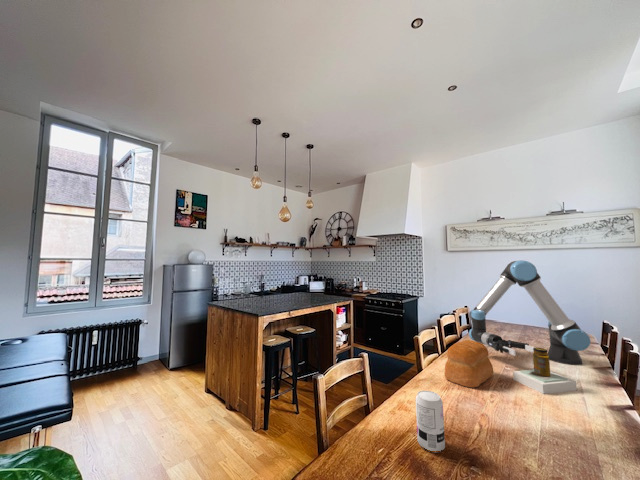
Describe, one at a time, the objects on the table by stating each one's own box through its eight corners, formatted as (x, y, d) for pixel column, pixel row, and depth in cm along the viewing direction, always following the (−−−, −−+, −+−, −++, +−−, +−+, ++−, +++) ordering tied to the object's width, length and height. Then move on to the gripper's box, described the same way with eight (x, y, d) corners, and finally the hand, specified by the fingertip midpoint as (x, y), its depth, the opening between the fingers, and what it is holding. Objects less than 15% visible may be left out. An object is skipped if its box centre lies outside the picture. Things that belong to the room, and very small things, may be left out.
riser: (543, 376, 134) (542, 367, 135) (576, 390, 120) (575, 379, 120) (513, 379, 131) (512, 370, 132) (543, 394, 116) (542, 383, 117)
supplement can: (413, 437, 88) (411, 390, 90) (436, 435, 89) (434, 389, 90) (424, 454, 80) (422, 402, 82) (450, 452, 81) (447, 401, 82)
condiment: (554, 375, 125) (552, 349, 126) (546, 379, 120) (544, 352, 122) (535, 370, 131) (533, 345, 132) (528, 374, 127) (525, 348, 128)
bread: (441, 379, 132) (439, 344, 134) (464, 367, 149) (462, 335, 150) (475, 391, 120) (472, 352, 122) (496, 375, 136) (493, 341, 138)
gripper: (511, 345, 157) (547, 357, 136) (474, 348, 152) (506, 361, 131) (510, 332, 157) (546, 342, 136) (473, 335, 153) (504, 345, 132)
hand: (526, 352), depth 134 cm, fingers open, 13 cm apart
